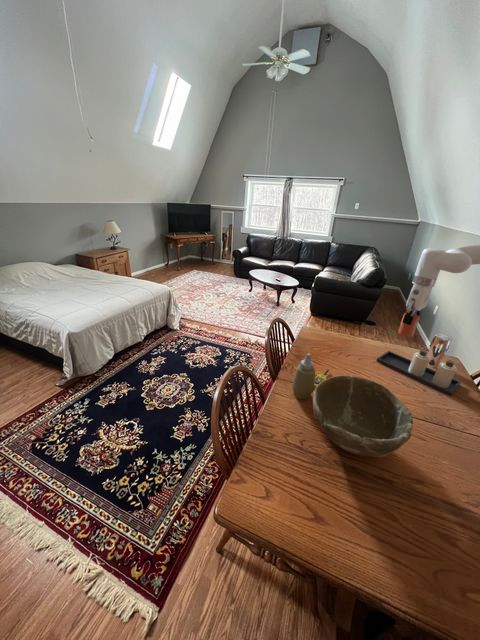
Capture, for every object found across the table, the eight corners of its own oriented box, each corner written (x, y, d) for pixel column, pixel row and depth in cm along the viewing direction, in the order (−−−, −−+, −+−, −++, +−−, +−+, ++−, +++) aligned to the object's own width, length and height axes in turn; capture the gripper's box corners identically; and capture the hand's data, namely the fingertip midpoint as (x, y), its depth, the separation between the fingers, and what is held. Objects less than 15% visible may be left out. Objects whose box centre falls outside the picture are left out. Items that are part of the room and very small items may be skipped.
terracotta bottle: (415, 334, 116) (423, 311, 111) (409, 338, 112) (418, 314, 108) (401, 329, 120) (409, 306, 115) (395, 332, 116) (403, 309, 112)
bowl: (360, 501, 67) (376, 460, 61) (289, 427, 87) (295, 391, 81) (417, 452, 81) (435, 415, 74) (344, 398, 101) (353, 365, 95)
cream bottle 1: (425, 373, 117) (434, 351, 113) (420, 378, 114) (429, 356, 109) (411, 366, 121) (419, 346, 117) (405, 371, 118) (413, 350, 113)
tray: (459, 386, 111) (461, 382, 110) (450, 397, 104) (452, 393, 103) (387, 354, 131) (388, 350, 131) (375, 362, 125) (377, 358, 124)
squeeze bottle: (305, 404, 97) (313, 363, 89) (286, 394, 102) (292, 354, 94) (316, 394, 103) (324, 354, 95) (298, 384, 107) (304, 345, 100)
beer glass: (422, 365, 124) (434, 337, 117) (423, 359, 129) (434, 331, 123) (440, 371, 120) (453, 342, 114) (440, 364, 125) (453, 336, 119)
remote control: (309, 381, 106) (323, 365, 117) (308, 385, 107) (322, 368, 118) (320, 387, 104) (334, 369, 114) (319, 391, 104) (333, 373, 115)
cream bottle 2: (450, 384, 111) (461, 362, 106) (446, 390, 107) (456, 367, 103) (434, 377, 115) (444, 355, 110) (429, 382, 111) (439, 360, 107)
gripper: (426, 287, 98) (410, 330, 106) (442, 280, 108) (426, 320, 116) (405, 281, 103) (391, 323, 111) (422, 275, 114) (408, 314, 121)
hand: (409, 321), depth 114 cm, fingers closed on terracotta bottle, 5 cm apart
